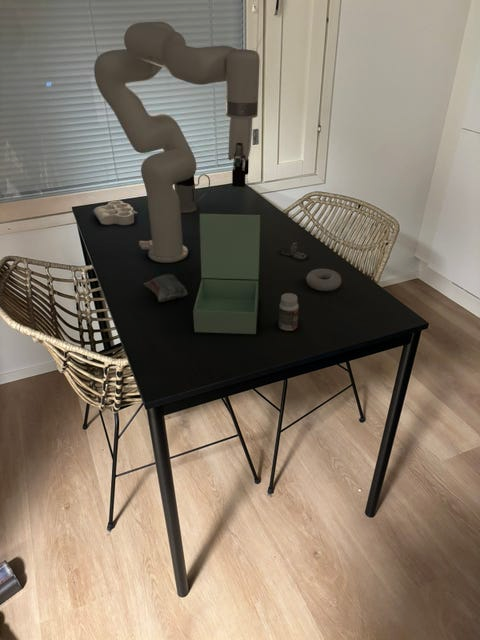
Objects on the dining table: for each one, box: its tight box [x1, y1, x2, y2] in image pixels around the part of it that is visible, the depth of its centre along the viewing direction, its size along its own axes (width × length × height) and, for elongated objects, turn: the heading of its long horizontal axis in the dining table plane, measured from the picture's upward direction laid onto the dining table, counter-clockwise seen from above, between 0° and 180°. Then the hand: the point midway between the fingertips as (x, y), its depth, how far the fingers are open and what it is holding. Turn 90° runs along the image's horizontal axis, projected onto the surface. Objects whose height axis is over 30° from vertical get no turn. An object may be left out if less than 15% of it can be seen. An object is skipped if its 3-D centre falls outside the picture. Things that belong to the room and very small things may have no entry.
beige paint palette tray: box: [92, 200, 139, 226], centre depth 185 cm, size 3×18×15 cm
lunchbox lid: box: [199, 213, 261, 281], centre depth 129 cm, size 17×15×5 cm
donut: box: [305, 268, 342, 292], centre depth 141 cm, size 10×4×10 cm
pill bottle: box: [278, 292, 300, 332], centre depth 122 cm, size 5×5×8 cm
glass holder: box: [173, 173, 211, 214], centre depth 189 cm, size 9×14×15 cm, turn 82°
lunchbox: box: [192, 278, 260, 335], centre depth 127 cm, size 16×15×6 cm
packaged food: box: [143, 273, 189, 303], centre depth 136 cm, size 9×12×5 cm
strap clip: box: [280, 242, 308, 261], centre depth 157 cm, size 8×3×4 cm, turn 51°
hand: (240, 180), depth 127 cm, fingers open, 9 cm apart
